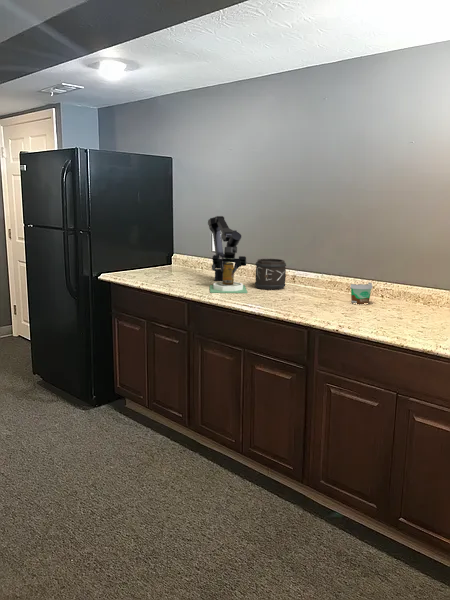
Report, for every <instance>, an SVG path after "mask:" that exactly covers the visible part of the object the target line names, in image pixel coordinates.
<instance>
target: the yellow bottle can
mask: <svg viewBox="0 0 450 600" xmlns="http://www.w3.org/2000/svg"><path fill="white" fill-rule="evenodd" d="M233 269H234V262H225V263H224V267H223V281H222V282H223V283H219V284H223V285H228V286H233V285H238V284H233V282H235V281H234V280H235V279H234V278H235V277H234V276H235V273H233Z"/></svg>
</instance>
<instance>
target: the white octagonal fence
mask: <svg viewBox="0 0 450 600" xmlns="http://www.w3.org/2000/svg"><path fill="white" fill-rule="evenodd" d="M219 283H223V281H216V282H213V285H214V290H219V291H238V290H243V285H244V284H243V282H237V281H234V282H233V284H238V285H233V286H228V285H223V284H219Z"/></svg>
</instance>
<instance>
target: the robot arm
mask: <svg viewBox="0 0 450 600" xmlns="http://www.w3.org/2000/svg"><path fill="white" fill-rule="evenodd" d="M207 225H208V228H209V230H210V231H211V233H212V236H213V238H212V239H213V244H214V251H215V254H213V255H212V258H211V259H212V265H211V270H212V271H214V277H213V278H214V279H213V280H214V282H215V281H216V282H223V267H224V263H225V262H231V263H234V264H233V268H234V269H233V273H234V274H235V273H236V271H237V270H238V269H239V268H242V267H245V266H247V256H246V255H239V256H238V258H236V254H238V245H239V243H240V241H241V239H242V234H241V233H240V232H238V231H237V230H235V229H234V230H233V229H231V228H230V227H229V226H228V224H227V222H226V220H225V216H223V215H216V216H214V217H210V218H209V219H208V220H207ZM223 242H224V243H225V242H226V246H224V247H223Z"/></svg>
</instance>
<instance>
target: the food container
mask: <svg viewBox="0 0 450 600" xmlns="http://www.w3.org/2000/svg"><path fill="white" fill-rule="evenodd" d="M372 283H373V282H368V283H366V284H363V283H359V284H354V283H350V285H349V286H350V287H349V288H350V293H351V295H350V296H351V297H350V298H351V302H350V304H351V303H357V304H364V303H370V299H371V292H372V289H373V288H374V287H373V284H372Z"/></svg>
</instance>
